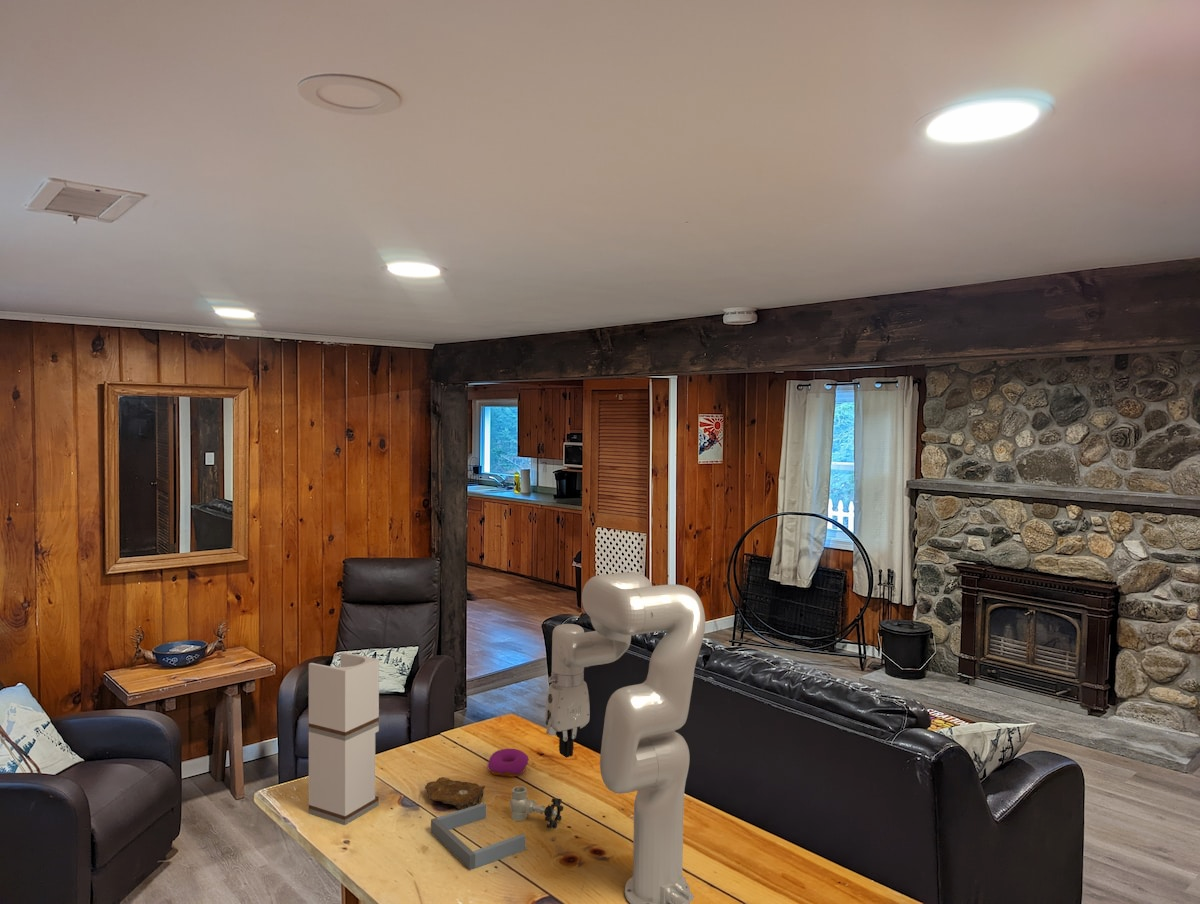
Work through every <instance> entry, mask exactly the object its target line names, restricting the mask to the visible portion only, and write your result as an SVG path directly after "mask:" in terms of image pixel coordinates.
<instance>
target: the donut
mask: <svg viewBox="0 0 1200 904" xmlns="http://www.w3.org/2000/svg"><path fill="white" fill-rule="evenodd" d="M529 760H530V759H529V756H528V755H527V754H526V753H525V752H524V751H521V750H520V749H518V748H504V749H499V750H496V751H494V752H493V753H492V754H491V755H490V757H489V760H488V762H487V768H488V770H489V771H490V773H491V774H492V775H493V776H502V777H508V778H509V777H510V778H514V777H518V776H520V775H521V774H523V772H524V771H525V770H526V769H527V766H528V764H529Z"/></svg>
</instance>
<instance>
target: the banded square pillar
mask: <svg viewBox="0 0 1200 904" xmlns="http://www.w3.org/2000/svg"><path fill="white" fill-rule="evenodd" d="M339 663H340V666H339V667H337V666H330V665H326V664H325V665H324V664H320V663H314V662H310V663H308V814H309V815H313V816H315V817H319V818H322V819H325V820H328V821H331V822H333V823H338V824H340V825H344V826H347V824H349V823H352V822H353V821H355V820H356V819H358V818H359V817H360V818H361V817H362V816H364V815H365V814H366V813H369V811H371V810H373V809H375V808H377V807H378V806H379V801H380V800H379V799H380V797H379V796H376V733H378V732H379V731H380V723H379V722H380V718H379V717H380V714H379V713H380V709H379V707H380V705H379V704H380V703H379V702H380V658H375V657H372V656H371V657H370V656H364V655H360V654H354V653H348V652H341V653H340V661H339Z"/></svg>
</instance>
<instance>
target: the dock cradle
mask: <svg viewBox="0 0 1200 904" xmlns="http://www.w3.org/2000/svg"><path fill="white" fill-rule="evenodd" d="M486 818H487V804H486V803H485V802H482V803H477V805H475V806H472V807H469V808H465V809H461V810H459V809H458V810H456V811H452V812H450V813H447V814H444V815H440V816H437V817H434V818H430V834H431V835H432V836H433V837H435V838H436V839H437V840H438V841H439V842H440V843H441V844H442V845H443V846H444V847H445V848H446V849H447V850H448V851H449V852H450V853H451V854H452V855H453V856H454V857H455V858H456V859H457V860H458V861H459V862H461V863H462V864H463V865H464V866H465V868H466V869H468V871H472V870H474V869H477V868H480V867H483V866H486V865H488V864H491V863H494V862H496V861H499V860H501V859H504V858H507V857H510V856H513V855H515V854H519V853H521V852H524V851H526V839H527V837H526V835H525V834H524V833H521V834H518V835H515V836H512V837H510V838H506V839H504V840H500V841H498V842H495V843H492V844H490V845H487V846H484V847H481V848H478V849H475V850H471V848H469V846H467V845H466V843H464V842H463V841H462V840H461V839H460V838H459V837H458V836H456V834H454V833H453V832H452V829H456V828H459V827H462V826H464V825H469V824H472V823H474V822H477V821H480V820H483V819H486Z"/></svg>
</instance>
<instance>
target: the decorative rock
mask: <svg viewBox="0 0 1200 904" xmlns="http://www.w3.org/2000/svg"><path fill="white" fill-rule="evenodd" d="M424 789H426V792H427V794H428V797H429V800H431V801H435V802H441V803H442V804H447V805H452V806H454V807H455V808H457V809H458V811H459V810H462V809H465V808H469V807H472V806H475V805H478V804H481V803H480V802H481V801H480V800H481V798H482V797H484V789H486V786H485V785H479V784H478V783H476V782H469V781H461V780H452V779H451V778H449V777H445V776H443V777H438V778H437V779H436V781H434V780H433V781H429V782H427V783H426V785H425V787H424Z"/></svg>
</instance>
